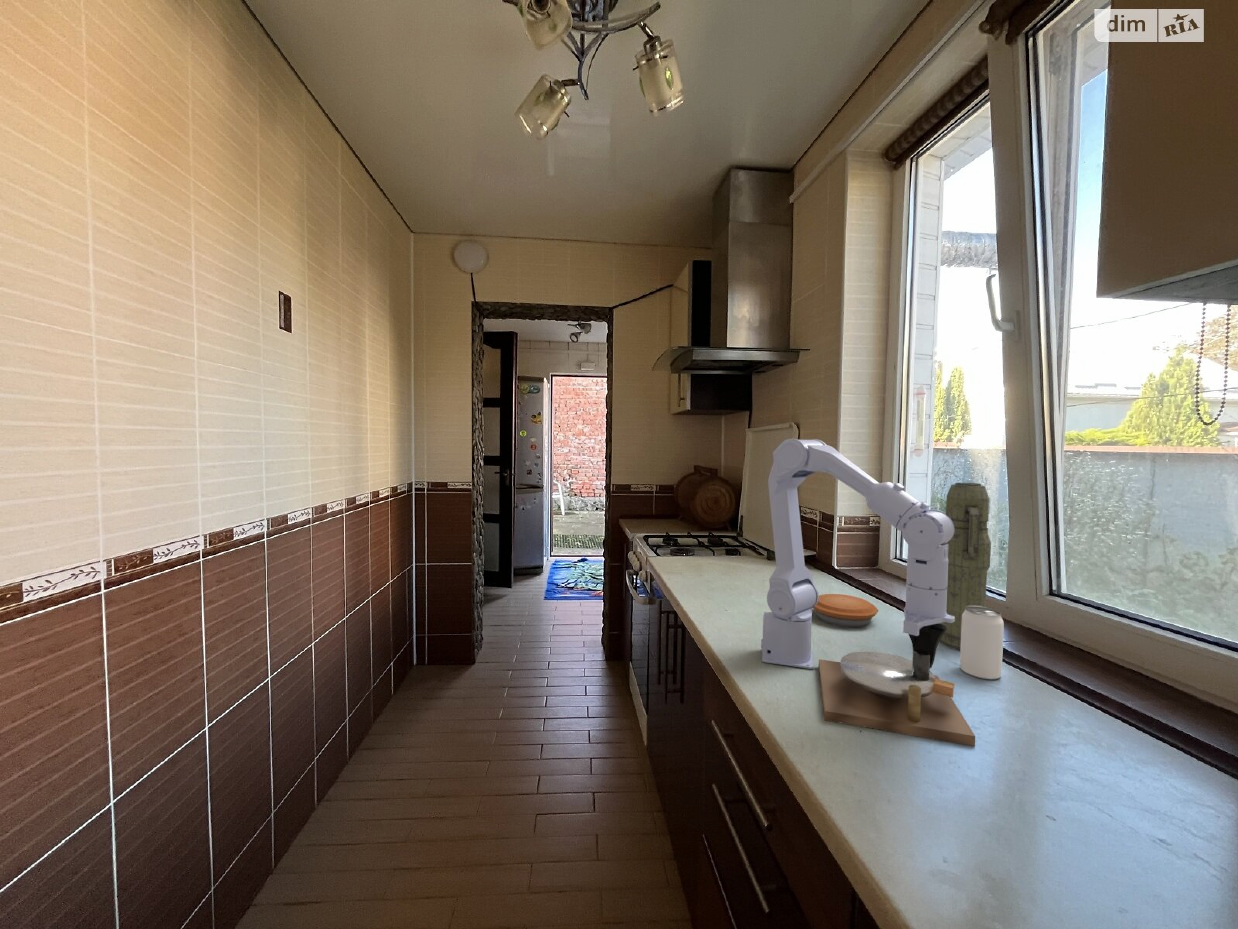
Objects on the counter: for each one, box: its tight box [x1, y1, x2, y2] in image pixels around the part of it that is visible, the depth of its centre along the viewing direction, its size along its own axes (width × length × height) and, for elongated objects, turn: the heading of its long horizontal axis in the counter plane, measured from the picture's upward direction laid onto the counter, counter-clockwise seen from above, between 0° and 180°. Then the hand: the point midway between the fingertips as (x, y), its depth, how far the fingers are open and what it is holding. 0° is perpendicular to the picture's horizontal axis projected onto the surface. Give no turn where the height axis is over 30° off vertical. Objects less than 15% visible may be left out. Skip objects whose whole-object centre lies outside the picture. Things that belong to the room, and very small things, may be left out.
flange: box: [840, 650, 955, 699], centre depth 84 cm, size 16×14×6 cm
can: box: [959, 606, 1005, 681], centre depth 96 cm, size 6×6×12 cm
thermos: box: [939, 482, 992, 651], centre depth 109 cm, size 9×12×35 cm
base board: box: [818, 658, 976, 747], centre depth 85 cm, size 20×20×6 cm
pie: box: [812, 593, 880, 628], centre depth 125 cm, size 15×16×5 cm
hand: (923, 666), depth 83 cm, fingers closed, pressing on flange
